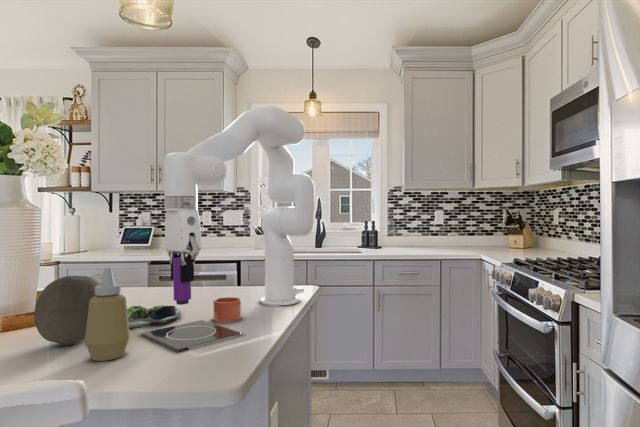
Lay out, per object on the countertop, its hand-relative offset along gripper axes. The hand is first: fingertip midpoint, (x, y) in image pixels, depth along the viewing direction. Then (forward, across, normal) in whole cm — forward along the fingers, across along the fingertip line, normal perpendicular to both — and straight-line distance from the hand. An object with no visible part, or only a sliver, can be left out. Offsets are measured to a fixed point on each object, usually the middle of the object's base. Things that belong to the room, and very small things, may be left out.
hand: (182, 279), depth 96 cm
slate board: (+13, -2, -1) cm, 13 cm away
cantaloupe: (+13, +12, +20) cm, 27 cm away
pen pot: (+13, +4, -15) cm, 20 cm away
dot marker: (+6, 0, 0) cm, 6 cm away
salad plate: (+13, +18, 0) cm, 23 cm away
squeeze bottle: (+13, -4, +18) cm, 23 cm away
